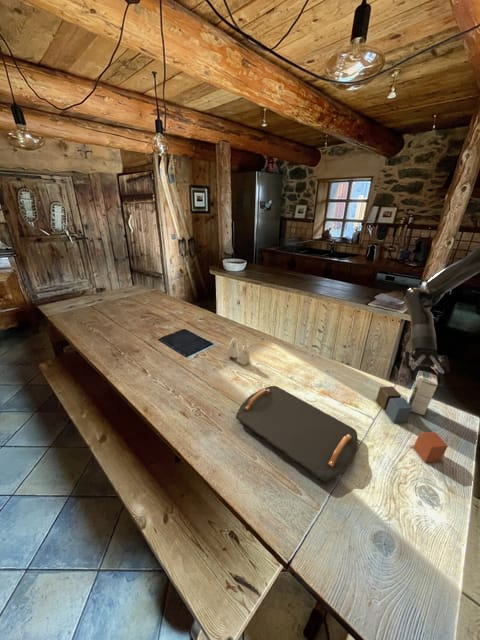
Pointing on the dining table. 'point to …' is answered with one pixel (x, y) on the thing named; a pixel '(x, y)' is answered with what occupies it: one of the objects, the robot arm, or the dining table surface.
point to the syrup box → (422, 391)
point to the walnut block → (386, 396)
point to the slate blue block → (398, 410)
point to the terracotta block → (430, 447)
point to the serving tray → (300, 431)
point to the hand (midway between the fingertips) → (426, 383)
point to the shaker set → (234, 352)
